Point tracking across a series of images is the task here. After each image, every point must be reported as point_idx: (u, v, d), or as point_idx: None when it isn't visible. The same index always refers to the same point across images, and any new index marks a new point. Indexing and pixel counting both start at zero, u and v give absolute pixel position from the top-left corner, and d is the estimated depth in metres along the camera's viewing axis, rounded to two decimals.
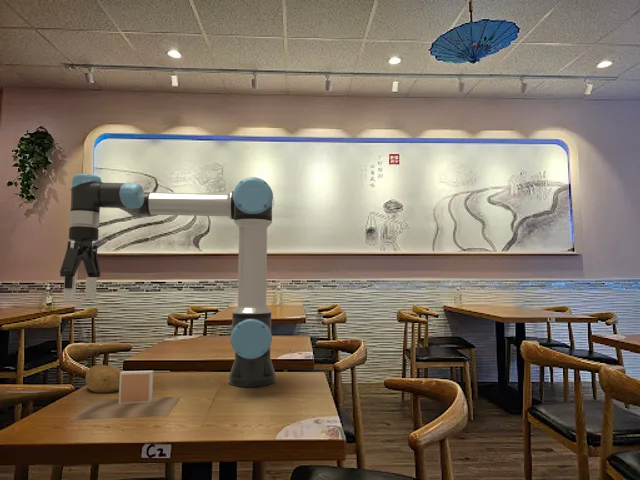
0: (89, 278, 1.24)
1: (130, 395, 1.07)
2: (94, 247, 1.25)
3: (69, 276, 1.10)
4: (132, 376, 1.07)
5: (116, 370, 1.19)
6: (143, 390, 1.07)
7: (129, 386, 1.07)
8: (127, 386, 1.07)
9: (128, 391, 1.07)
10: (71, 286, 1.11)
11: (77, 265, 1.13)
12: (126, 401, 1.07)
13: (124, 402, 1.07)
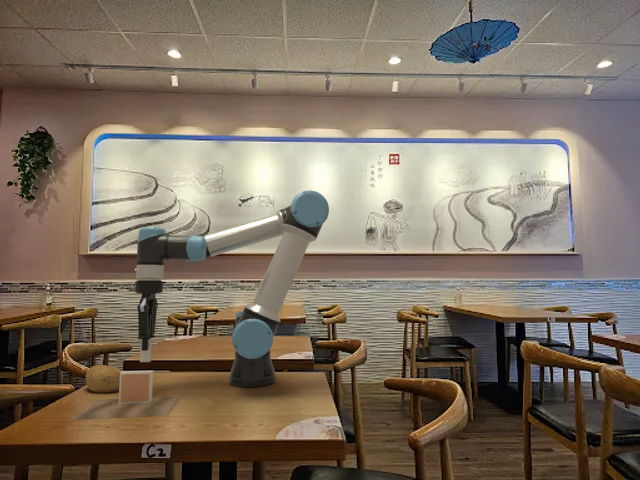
0: None
1: (130, 395, 1.07)
2: None
3: (146, 339, 1.16)
4: (132, 376, 1.07)
5: (116, 370, 1.19)
6: (143, 390, 1.07)
7: (129, 386, 1.07)
8: (127, 386, 1.07)
9: (128, 391, 1.07)
10: (147, 348, 1.17)
11: (150, 325, 1.17)
12: (126, 401, 1.07)
13: (124, 402, 1.07)
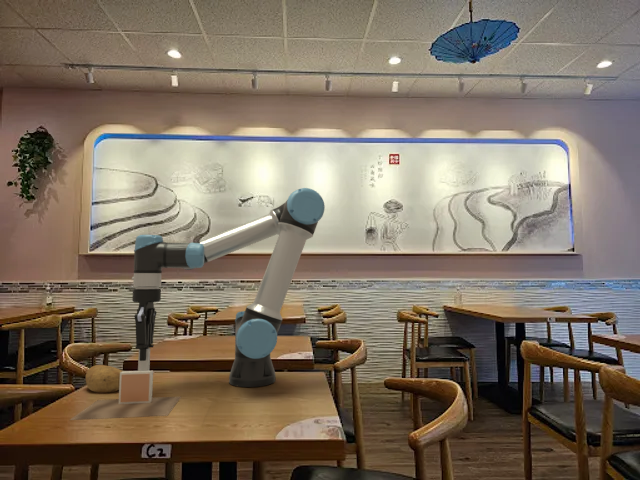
0: None
1: (130, 395, 1.07)
2: None
3: (144, 349, 1.14)
4: (132, 376, 1.07)
5: (116, 370, 1.19)
6: (143, 390, 1.07)
7: (129, 386, 1.07)
8: (127, 386, 1.07)
9: (128, 391, 1.07)
10: (145, 358, 1.15)
11: (148, 335, 1.15)
12: (126, 401, 1.07)
13: (124, 402, 1.07)
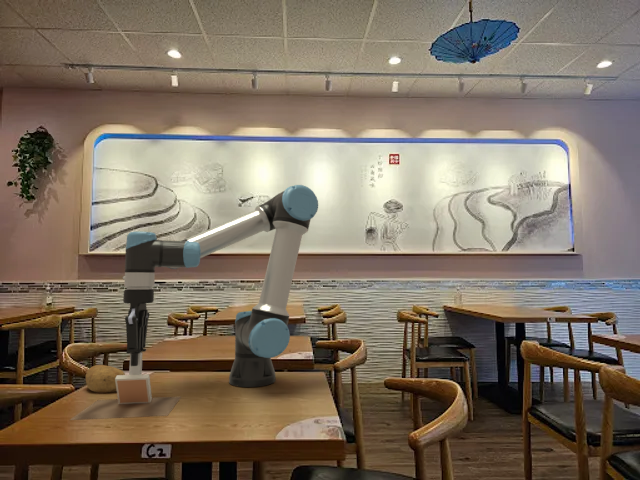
0: None
1: (129, 396, 1.06)
2: None
3: (135, 353, 1.07)
4: (128, 382, 1.04)
5: (116, 370, 1.19)
6: (141, 393, 1.06)
7: (127, 390, 1.05)
8: (124, 389, 1.05)
9: (126, 394, 1.05)
10: (137, 363, 1.07)
11: (139, 338, 1.08)
12: (126, 402, 1.06)
13: (123, 402, 1.06)
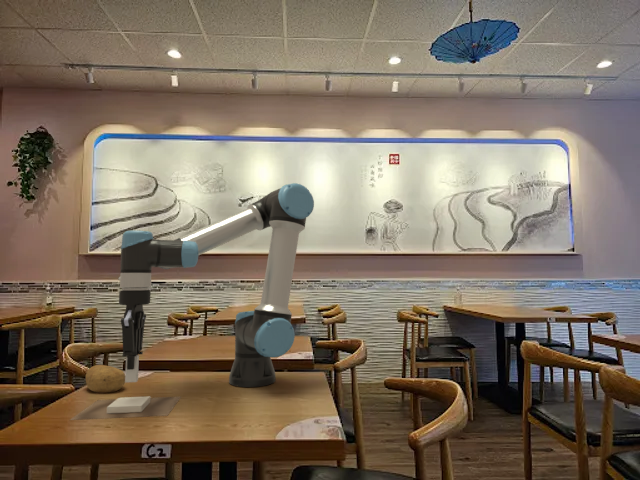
0: None
1: None
2: (143, 315, 1.11)
3: (132, 356, 1.03)
4: None
5: (116, 370, 1.19)
6: None
7: None
8: None
9: None
10: (134, 366, 1.04)
11: (136, 341, 1.04)
12: None
13: None
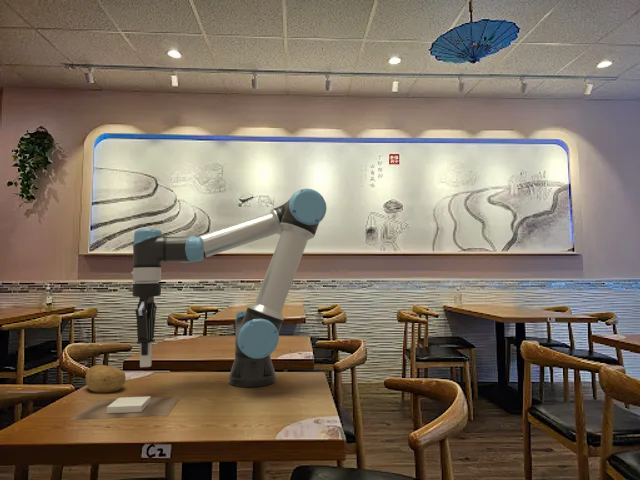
0: None
1: None
2: (154, 306, 1.21)
3: (145, 343, 1.13)
4: None
5: (116, 370, 1.19)
6: None
7: None
8: None
9: None
10: (147, 352, 1.14)
11: (149, 329, 1.14)
12: None
13: None
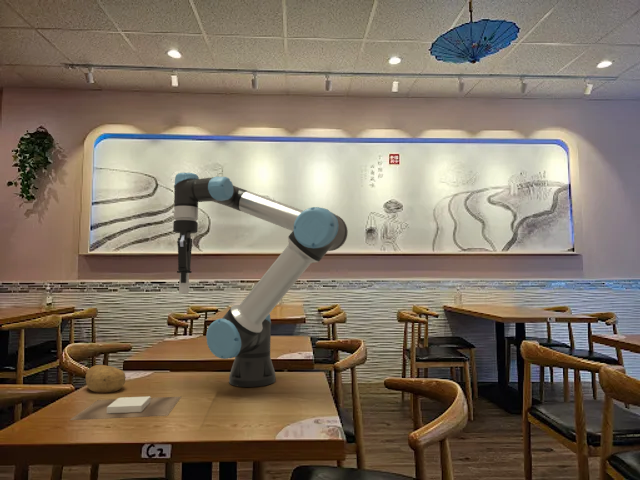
0: None
1: None
2: None
3: (184, 272, 1.29)
4: None
5: (116, 370, 1.19)
6: None
7: None
8: None
9: None
10: (185, 281, 1.30)
11: (187, 260, 1.30)
12: None
13: None
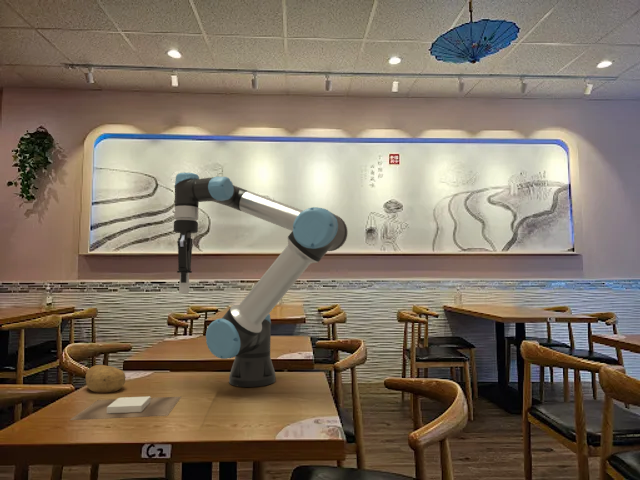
0: None
1: None
2: (191, 244, 1.37)
3: (184, 272, 1.29)
4: None
5: (116, 370, 1.19)
6: None
7: None
8: None
9: None
10: (186, 281, 1.30)
11: (187, 260, 1.30)
12: None
13: None
